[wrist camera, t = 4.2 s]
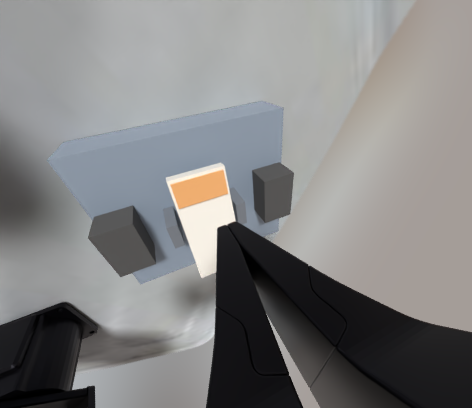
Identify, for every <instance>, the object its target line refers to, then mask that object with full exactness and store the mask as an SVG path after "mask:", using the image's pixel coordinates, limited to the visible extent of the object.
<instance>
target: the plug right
mask: <svg viewBox="0 0 472 408" xmlns="http://www.w3.org/2000/svg"><path fill="white" fill-rule="evenodd" d="M293 177H294V173H293V172H292V171H291V170H289V169H288V168H287V167H285V166H284V165H282V164H281V163H280V162H278V163H274V164H271V165H268V166H264V167H261V168H257V169H254V170H252V179H253V195H254V210H255V211H256V212H257V214H258V215H259V216H260V217H261V219H262V220H263V221H264V223H267V222H270V221H273V220H276V219H278V218H281V217H284V216H286V215H289V214H290V210H291V199H292V188H293Z"/></svg>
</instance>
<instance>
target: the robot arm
mask: <svg viewBox="0 0 472 408" xmlns="http://www.w3.org/2000/svg"><path fill="white" fill-rule="evenodd" d="M266 313H267V315H268V317H269V319H270V320H271V322H272V324H273V326H274V327H275V329H276V331H277V333H278V334H279V336H280V338H281V340H282V341H283V343H284V345H285V347H286V348H287V350H288V352H289V353H290V355H291V357H292V359H293V360H294V362H295V364H296V365H297V367H298V369H299V371H300V373H301V374H302V376H303V378H304V380H305V381H306V383H307V385H308V387H310V390H311V392H312V394H313V395H314V397H315V399H316V401H317V402H318V404H319V406H320V408H472V332H468V331H463V330H458V329H453V328H449V327H443V326H439V325H435V324H430V323H427V322H423V321H420V320H417V319H414V318H412V317H409V316H407V315H404V314H402V313H400V312H398V311H396V310H394V309H392V308H389V307H388V306H385V305H383V304H381V303H379V302H377V301H375V300H373V299H371V298H369V297H367V296H365V295H363V294H361V293H359V292H357V291H355V290H353V289H351V288H349V287H347V286H345V285H343V284H341V283H339V282H337V281H335V280H334V279H332V278H330V277H328V276H327V275H325V274H323V273H321V272H320V271H318V270H316V269H315V268H313V267H312V266H309V267H308V264H306V263H305V262H303V261H301V260H300V259H298V258H297V257H295V256H293V255H292V254H290V253H288V252H286V251H285V250H283V249H282V248H280V247H278V246H277V245H275V244H274V243H272V242H270V241H269V240H267V239H265V238H264V237H262V236H260V235H259V234H257V233H255V232H254V231H252V230H250V229H249V228H247V227H245V226H244V225H242V224H241V223H239V222H237V221H234V222H231V223H229V224H227V225H223V226H220V227H218V228H217V261H216V311H215V339H214V349H213V358H212V367H211V374H210V382H209V389H208V397H207V404H206V408H303V406H302V404H301V401H300V399H299V397H298V395H297V392H296V390H295V387H294V385H293V382H292V380H291V377H290V376H289V372H288V369H287V367H286V364H285V362H284V359H283V356H282V354H281V351H280V348H279V346H278V343H277V341H276V338H275V335H274V333H273V330H272V328H271V325H270V323H269V320H268V317H267V315H266ZM97 330H98V327H97V326H96V325H94V324H93V323H92V322H90V321H89V320H88V319H86V318H85V317H84V316H82V315H81V314H80V313H78V312H77V311H75V310H74V309H73V308H71V307H70V306H69V305H67V304H65V303H60V304H57V305H54V306H51V307H49V308H46V309H43V310H41V311H38V312H35V313H33V314H30V315H27V316H25V317H22V318H19V319H17V320H14V321H11V322H9V323H6V324H3V325H1V326H0V408H95V386H88V387H87V388H83V389H77V390H72V387H73V382H74V377H75V372H76V367H77V362H78V357H79V352H80V347H81V342H82V339H84V338H86V337H89V336H91V335H93V334H95V333H97Z"/></svg>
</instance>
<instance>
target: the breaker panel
mask: <svg viewBox="0 0 472 408" xmlns="http://www.w3.org/2000/svg"><path fill="white" fill-rule="evenodd" d="M282 131H283V107H280V106H277V105H274V104H270V103H267V102H264V101H260V102H255V103H250V104H245V105H241V106H236V107H231V108H226V109H221V110H216V111H212V112H207V113H202V114H197V115H192V116H187V117H183V118H178V119H173V120H168V121H163V122H159V123H154V124H149V125H144V126H139V127H134V128H130V129H125V130H120V131H115V132H110V133H105V134H101V135H96V136H91V137H86V138H81V139H76V140H72V141H67V142H63V143H62V144H61V145H60V147H59V148H58V149H57V150H56V151H55V152H54V153H53V154H52V155H51V156H50V158H49V159H48V160H47V161H48V162H49V164H50V165H51V166H52V168H53V169H54V170H55V172H56V173H57V174H58V176H59V177H60V178H61V180H62V181H63V182H64V184H65V185H66V186H67V188H68V189H69V190H70V191H71V193H72V194H73V195H74V197H75V198H76V199H77V201H78V202H79V203H80V205H81V206H82V207H83V209H84V210H85V211H86V213H87V214H88V215H89V217H90V218H91V219H92V221H93V218H94V217H95V216H98V215H102V214H105V213H109V212H112V211H115V210H119V209H122V208H126V207H129V206H132V205H133V206H134V208H135V210H136V212H137V213H138V215H139V217H140V219H141V221H142V223H143V224H144V226H145V228H146V230H147V232H148V234H149V235H150V237H151V239H152V241H153V243H154V245H155V256H156V264H155V265H152V266H149V267H147V268H144V269H141V270H138V271H136V272H133V273H132V274H133V275H134V276H135V277H136V279H137V280H138V281H139V283H140V284H143V283H145V282H148V281H151V280H153V279H156V278H158V277H161V276H163V275H166V274H169V273H171V272H174V271H176V270H179V269H181V268H184V267H187V266H189V265H192V264H194V263H196V262H195V259H194V256H193V253H192V251H191V248H190V245H189V242H188V240H187V237H186V234H185V231H184V229H183V226H182V223H181V220H180V218H179V215H178V212H177V209H176V207H175V204H174V201H173V199H172V196H171V193H170V190H169V188H168V185H167V182H166V177H170V176H174V175H177V174H181V173H184V172H188V171H192V170H195V169H199V168H203V167H206V166H210V165H214V164H217V163H222V164H223V165H224V166H225V171H226V176H227V181H228V186H229V190H230V195H231V200H232V205H233V210H234V215H235V220H236V221H237V222H239V223H241V224H242V225H244V226H245V227H247V228H249V229H250V230H252V231H254V232H255V233H257V234H259V235H260V236H262V237H264V236H266V235H269V234H271V233H274V232H277V231H278V226H279V218H278V219H276V220H273V221H270V222H267V223H264V221H263V220H262V219H261V217H260V216H259V215H258V214H257V212H256V211H255V210H254V195H253V179H252V170H254V169H257V168H261V167H264V166H268V165H271V164H274V163H278V162H280V163H281V155H282Z"/></svg>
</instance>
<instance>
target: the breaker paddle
mask: <svg viewBox="0 0 472 408" xmlns="http://www.w3.org/2000/svg"><path fill="white" fill-rule="evenodd" d="M166 182H167V185H168V188H169V190H170V193H171V196H172V199H173V201H174V204H175V207H176V209H177V212H178V215H179V218H180V220H181V223H182V226H183V229H184V231H185V234H186V237H187V240H188V242H189V245H190V248H191V251H192V253H193V256H194V259H195V262H196V264H197V267H198V270H199V273H200V275H201V278H203V277H206V276H208V275H211V274H213V273H216V261H217V228H218V227H220V226H223V225H227V224H229V223H231V222H234V221H236V220H235V215H234V210H233V205H232V200H231V195H230V190H229V186H228V181H227V176H226V171H225V166H224V165H223V164H222V163H217V164H214V165H210V166H206V167H203V168H199V169H195V170H192V171H188V172H184V173H181V174H177V175H174V176H170V177H166Z"/></svg>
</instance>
